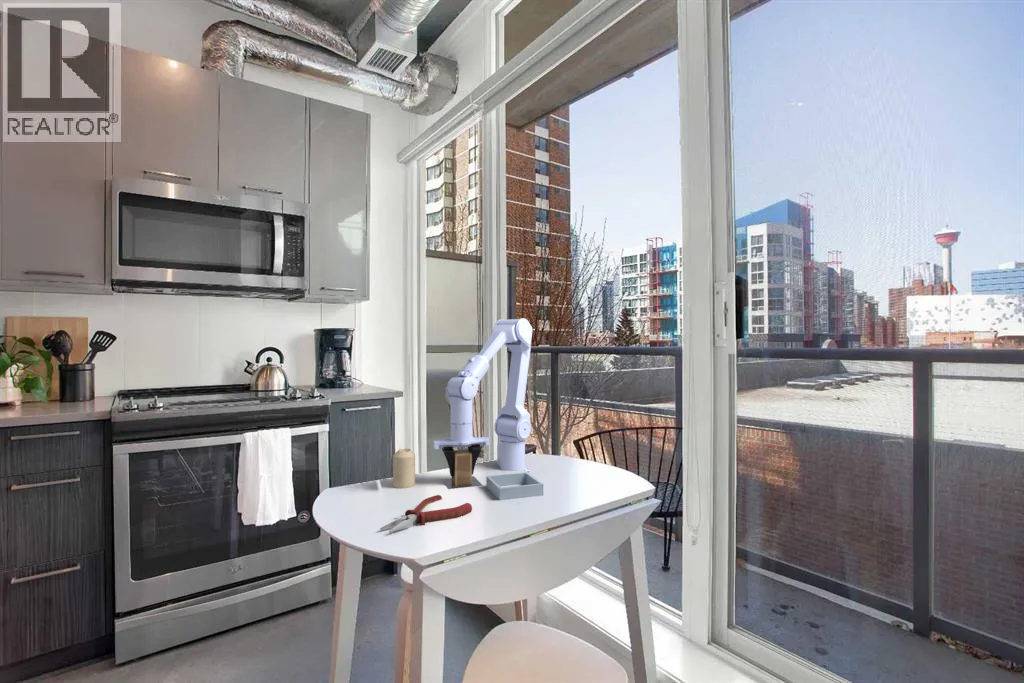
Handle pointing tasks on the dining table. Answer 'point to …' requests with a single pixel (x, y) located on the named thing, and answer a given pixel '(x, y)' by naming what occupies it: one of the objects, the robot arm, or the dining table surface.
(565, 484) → the dining table surface
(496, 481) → the bin
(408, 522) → the pliers
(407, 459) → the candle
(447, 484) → the base
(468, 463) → the brown block
